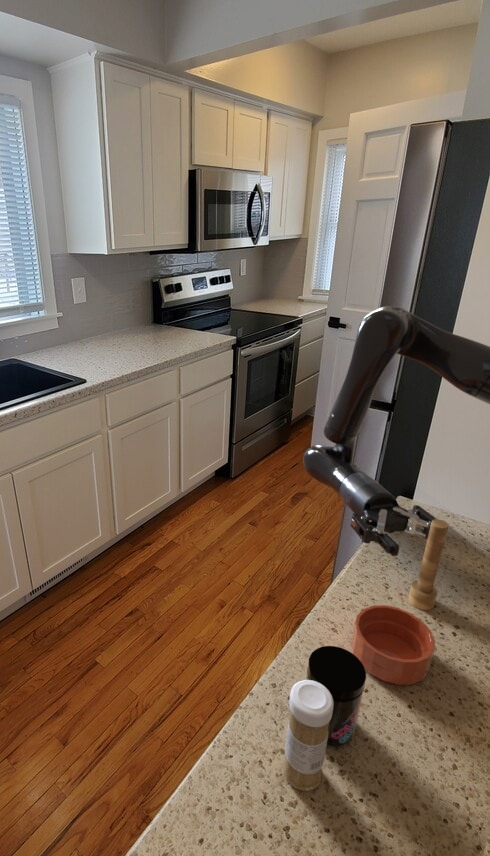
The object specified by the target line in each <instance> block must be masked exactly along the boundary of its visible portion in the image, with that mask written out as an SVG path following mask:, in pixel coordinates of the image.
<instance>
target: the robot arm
mask: <svg viewBox="0 0 490 856" xmlns="http://www.w3.org/2000/svg"><path fill="white" fill-rule="evenodd" d="M355 337H356V338H355V340H354V341H355V342H354V346H353V350H352V355H351V358H350V362H349V366H348V369H347V373H346V375H345V378H344V381H343V383H342V386H341V388H340V390H339V392H338V395H337V397H336V399H335V401H334V404H333V406H332V408H331V411H330V412H329V415H328V417H327V420H326V422H325V425H324V428H323V435H324V437H325V438H326V439H327V440H328V441H330V442H331V443H333V444H335V445H334V446H332V445H331V446H330V445H317V444H316V445H312V446H310V447H308V448H307V449H306V450H305V452H304V454H303V457H302V464H303V467H304V470H305V471H306V473H307V474H308V475H309V476H310V477H312V478H313V479H314V480H316V481H318V482H319V483H321V484H323V485H325V486H326V487H328V488H330V489H332V490H333V491H334V492H335V494H337V496H339V497H340V498H341V499H342V501H343V503H344V504H345V505H346V506H347V507H348V508H349V509H350V510H351V511H352V515H351V520H350V527H351V528H352V529H353V531H354V532H355V533H356V535H357V536H358V537H359V539H360V540H361V541H362V542H363V543H365V544H366V545H367V544H371V542H374V543H375V544H376V545H379V546H380V547H381V548H382V549H383V550H384V551H385V552H386V553H388V554H390V555H391V556H392V557H396V556H399V551H400V545H399V544H398V543H397V542H396V541H395V540H394V539H393V538H392V537H391V536H390V535H389V534H393V533H397V532H400V533H401V532H404V533H408V534H410V535H415V534H417V535H420V536H422V537H424V538H425V539H426V540H427V539H428V535H429V531H430V526H431V522H432V520H435V519H437V517H435V516H434V515H432V514H431V513H429V512H428V511H427V510H426V509H424V508H423V507H422V506H421V505H419V504H414V505H413V506H412V508H411V509H406V508H404V507H402V506H400V504H399V503H398V501H397V499H396V497H395V496H394V495H393V494H392V493H390V492H389V491H388V490H387V489H386V488H385V487H384V486H382V485H381V484H380V483H379V482H378V481H377V480H375V479H374V478H373V477H372V476H369V475H368V474H366V473H365V472H364V470H363V471H362V470H361V468H360V467H358V466H357V465H355V464H353V461H354V452H355V447H356V441H357V437H358V435H359V433H360V430H361V429H362V426H363V424H364V422H365V419H366V418H367V415H368V413H369V410H370V406H371V403H372V399H373V396H374V393H375V390H376V388H377V386H378V383H379V381H380V379H381V377H382V375H383V374H384V372H385V370H387V369H386V368H387V367H388V365H390V363H391V362H392V360H393V358H394V357H395V356H396V355H399V356H402V357H405V358H407V359H409V360H413V361H415V362H418V363H420V364H422V365H424V366H426V367H428V368H430V369H431V370H433V371H434V372H435V373H436V374H438V375H439V376H440V377H442V378H443V379H444V380H445V381H446V382H448V383H449V384H451V385H452V386H454V387H455V388H456V389H458V390H459V391H461V392H463V393H465V394H466V395H468V396H470V397H472V398H475V399H476V400H478V401H481V402H483V403H485V404H488V405H490V346H489V345H487V344H484V343H482V342H479V341H476V340H474V339H470V338H467V337H464V336H461V335H459V334H458V335H457V334H455V333H452V332H449V331H447V330H444V329H442V328H440V327H438V326H436V325H434V324H432V323H430V322H428V321H426V320H425V319H422V318H421V317H419V316H418V315H415V314H414V313H412V312H410V311H408V310H406V309H404V308H402V307H399V306H395V305H386V306H381V307H379V308H377V309H375V310H373V311H371V312H369V313H368V314H367V315H365V317H364V318H363V319H362V320H361V321H360V323H359V325H358V328H357V332H356V336H355ZM409 520H410V521H411V522H412V523H411V527H410V526H409ZM418 526H422V528H423V529H422V528H419V527H418ZM373 529H376V530H373ZM445 544H446V542H445V543H444V545H445ZM444 548H445V546H444V547H443V549H444Z"/></svg>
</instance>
